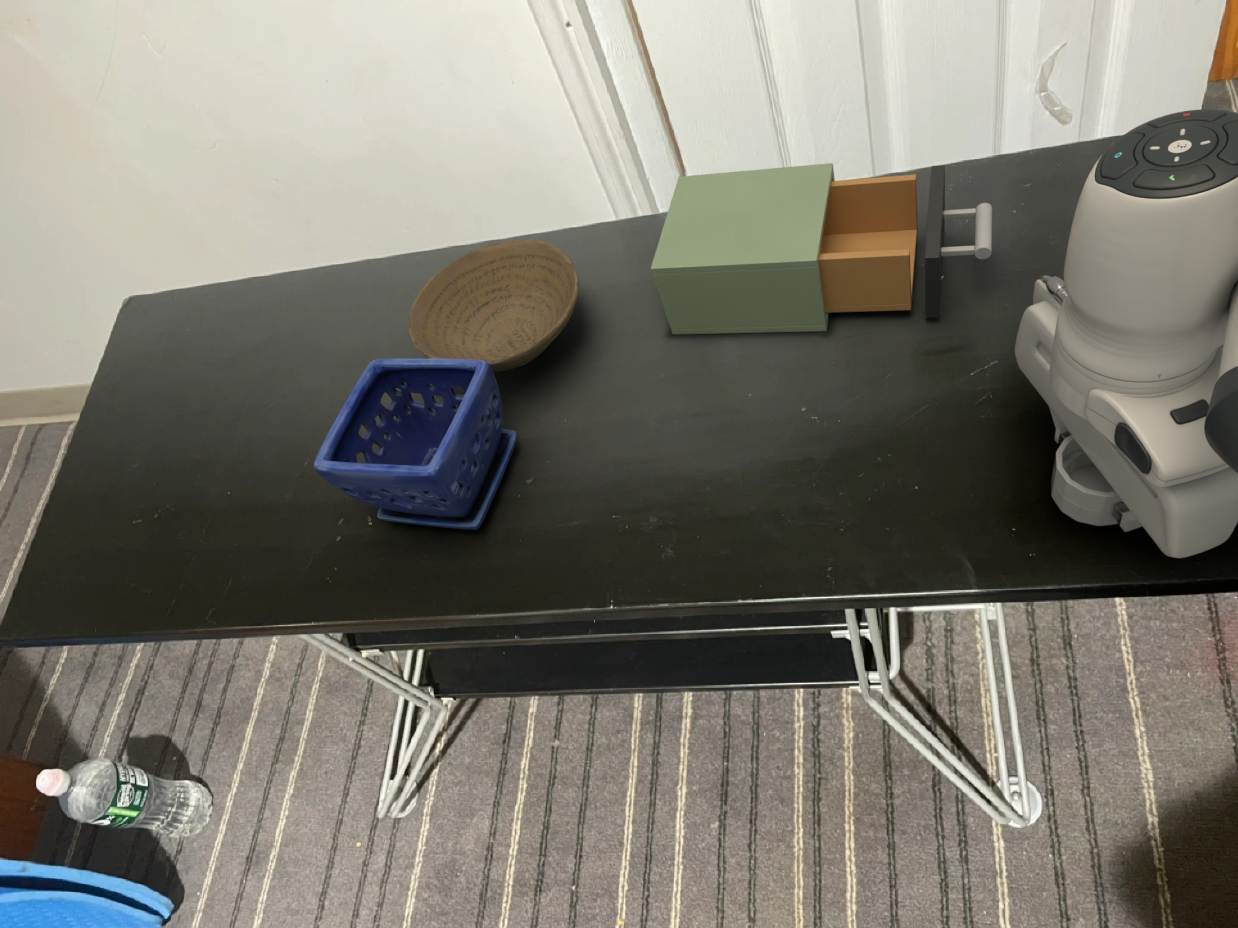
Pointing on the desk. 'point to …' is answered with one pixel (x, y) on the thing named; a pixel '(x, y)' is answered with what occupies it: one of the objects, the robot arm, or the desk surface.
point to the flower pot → (421, 442)
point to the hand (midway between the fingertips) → (1098, 482)
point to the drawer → (889, 243)
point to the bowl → (496, 304)
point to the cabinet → (745, 251)
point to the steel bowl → (1082, 486)
